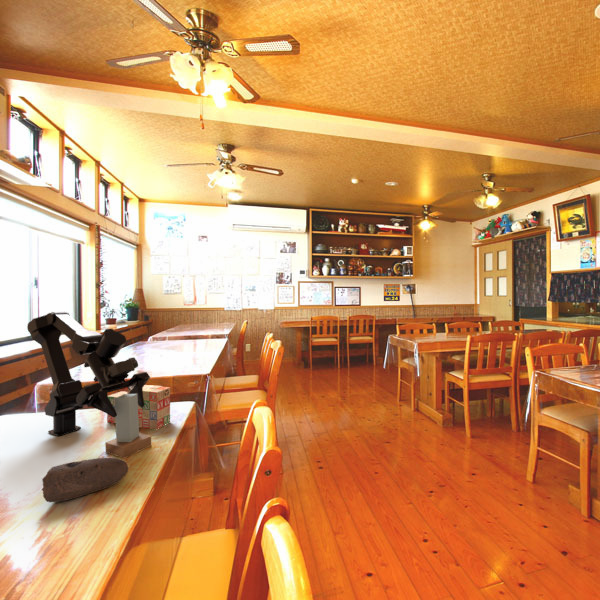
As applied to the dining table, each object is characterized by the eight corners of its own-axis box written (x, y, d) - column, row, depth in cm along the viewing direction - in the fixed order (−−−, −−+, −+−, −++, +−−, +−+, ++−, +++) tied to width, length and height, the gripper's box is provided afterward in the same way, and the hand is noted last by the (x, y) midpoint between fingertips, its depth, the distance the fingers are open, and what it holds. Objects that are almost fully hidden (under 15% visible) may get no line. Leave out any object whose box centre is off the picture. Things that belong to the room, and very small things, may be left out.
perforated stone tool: (128, 475, 72) (127, 445, 72) (129, 486, 67) (128, 455, 67) (45, 497, 64) (45, 464, 64) (40, 512, 59) (40, 476, 59)
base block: (105, 453, 83) (105, 442, 83) (132, 441, 91) (132, 431, 91) (124, 459, 80) (124, 448, 80) (151, 446, 87) (150, 436, 87)
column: (116, 442, 83) (114, 398, 84) (125, 436, 87) (124, 394, 88) (130, 442, 83) (128, 398, 83) (139, 435, 87) (137, 393, 87)
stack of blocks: (106, 423, 104) (106, 387, 104) (122, 416, 110) (121, 382, 110) (157, 430, 98) (156, 391, 98) (170, 422, 104) (170, 386, 104)
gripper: (82, 355, 79) (109, 403, 74) (145, 345, 96) (171, 384, 91) (64, 382, 82) (90, 430, 77) (129, 368, 99) (153, 407, 94)
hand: (130, 411), depth 85 cm, fingers open, 8 cm apart
